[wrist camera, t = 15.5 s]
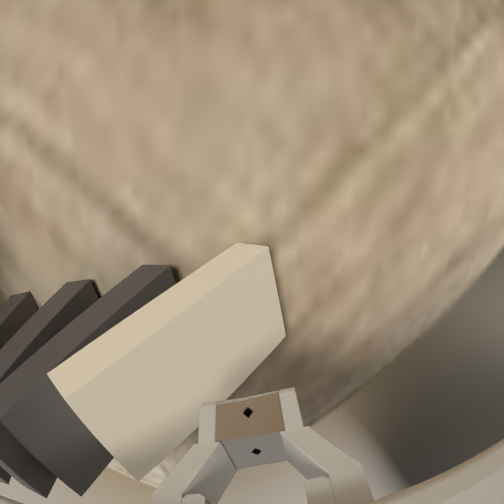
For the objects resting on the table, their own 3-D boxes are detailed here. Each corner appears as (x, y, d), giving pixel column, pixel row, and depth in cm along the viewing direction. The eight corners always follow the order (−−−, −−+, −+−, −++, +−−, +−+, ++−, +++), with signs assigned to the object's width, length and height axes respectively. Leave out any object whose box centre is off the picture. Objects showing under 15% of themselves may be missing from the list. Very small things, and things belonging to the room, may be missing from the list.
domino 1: (29, 291, 15) (-64, 412, 6) (66, 357, 17) (8, 484, 8) (11, 295, 15) (-78, 407, 6) (47, 359, 17) (-12, 477, 8)
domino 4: (268, 246, 14) (64, 399, 7) (285, 335, 16) (138, 481, 9) (237, 242, 15) (46, 373, 8) (257, 327, 17) (114, 456, 10)
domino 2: (90, 279, 15) (-35, 423, 6) (126, 354, 17) (46, 498, 8) (66, 282, 15) (-52, 412, 6) (103, 353, 17) (22, 485, 8)
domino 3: (169, 265, 14) (-1, 419, 6) (200, 349, 16) (81, 496, 8) (142, 265, 15) (-17, 399, 7) (174, 344, 17) (57, 476, 9)
